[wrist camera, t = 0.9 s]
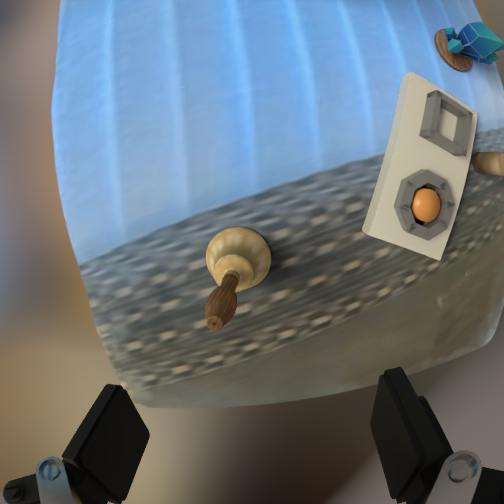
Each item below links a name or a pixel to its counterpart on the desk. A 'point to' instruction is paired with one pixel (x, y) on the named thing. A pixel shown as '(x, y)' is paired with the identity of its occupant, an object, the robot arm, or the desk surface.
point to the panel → (422, 166)
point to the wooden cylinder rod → (488, 163)
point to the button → (425, 204)
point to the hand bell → (234, 270)
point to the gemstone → (468, 45)
